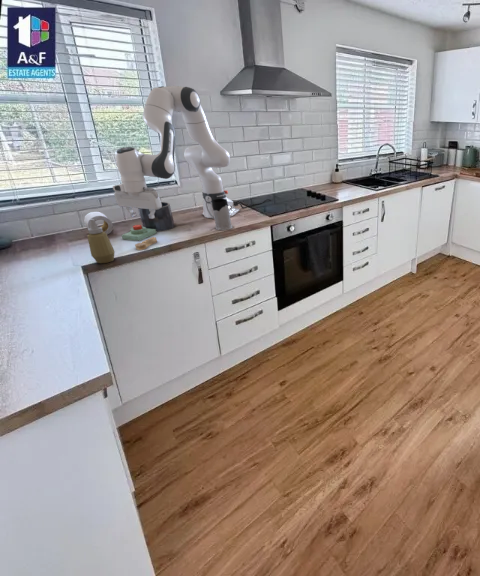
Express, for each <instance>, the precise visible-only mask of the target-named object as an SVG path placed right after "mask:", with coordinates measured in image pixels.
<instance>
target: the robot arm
mask: <svg viewBox="0 0 480 576" xmlns="http://www.w3.org/2000/svg"><path fill="white" fill-rule="evenodd" d="M174 112H181V117H182V120H183V122H184V125H185V128H186V132H187V134H188V137H189V138H190V139H191V140H192V141H194V142H195V143H196V144H197V145H191V146H187V147H186V148H185V149H184V152H183V158H184V160H185V162H186V163H187V164H188V165H190V166H191V168H193V169H194V171H195V172H196V174H197V175H198V178H199V180H200V184H201V190H202V198H203V200H202V208H203V209H202V210H203V211H202V215H203V216H204V218H207V219H213V217H214V213H213V208H212V205H211V203H210V202H207V201H211V202H212V200H214V199H227V203H228V207H229V213H230V218H231V217H233V216H234V215H236V214H237V213H238V212H239V211H240V208H238V206H239V205H240V207H241V208H242V209H246V208H250V207H252V206H253V207H254V206H258V205H261V204H262V203H265V202H267V201H270V202H271V201H272V199H270V198H267V199H265V200H262V201H261V202H257V203H252V204H248V205H247V206H243V205H242V203H240V202H239V201H238V200H234V199H231V198H229V197H227V195H228V194H229V191H228V190H224V186H223V180H222V177H221V175H219V174H218V173H216V172H215V171H214V169H215V168H216V169H221V168H226V167H228V166H229V164H230V163H231V155H230V152H229V151H228V150H227V149H226V148H224V147H223V146H221V144H219V143H218V141H217V139H215V137H214V136H213V134H212V131H211V128H210V126H209V122H208V120H207V116H206V114H205V111H204V109H203V106H202V105H201V98H200V95H199V93H198V92H197V91H196V89H194V88H193V87H189V86H181V85H180V86H179V85H169V86H164V85H162V86H161V85H160V86H157V87H153V88H152V89H151V90H150V92H149V93H148V96H147V97H146V101H145V104H144V107H143V112H142V120H143V122H144V123H145V125H146V126H147V127H148V128H149V129H150V130H152V131H153V132H155V133H157V134H159V136H160V145H159V146H160V147H159V152H158V153H157V154H148V153H144V152H140V151H138V150H137V149H136V148H135V147H132V146H126V147H120V148H118V149H116V150H115V162H116V163H115V164H116V167H117V170H118V172H119V174H120V182H121V183H119V184H116V185H113V186H112V190H113V192H114V199H115V202H116V205H117V206H118V207H122V208H125V209H126V211H127V212H128V213H129V216H130V217H131V218H135V217H137V212H135V211H134V209H138V208H143V209H149V211H151V212H150V214H149V218H151V219H153V218H155V216H154V213H155V210H157V209H160V208H161V207H162V204H161V202H162V201H161V197H160V196H159V193H158V191H157V189H155V188H153V187H148V186H147V181H146V178H145V177H151V178H160V179H164V180H167V179H170V178H172V176H173V175H174V174H175V171H176V165H175V153H176V152H175V150H176V128H175V126H174V125H173V124H172V123H173V121H172V120H173V114H174ZM213 168H214V169H213ZM206 202H207V206H208V209H209V211H210V213H211V215H212V216H213V217H212V216H211V215H210V214H209V212H208V210H207V207H206Z"/></svg>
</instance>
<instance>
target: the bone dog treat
mask: <svg viewBox="0 0 480 576" xmlns="http://www.w3.org/2000/svg"><path fill="white" fill-rule="evenodd" d="M156 243H158V240H157V237H155V236H152V237H150V238H147V239H145V240H143V241H141V242H138V243H135V244H134V248H135V249H136V250H137V251H142V250H146V249H148V247H149V246H152V245H154V244H156Z"/></svg>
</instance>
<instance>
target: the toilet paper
mask: <svg viewBox="0 0 480 576" xmlns="http://www.w3.org/2000/svg"><path fill="white" fill-rule="evenodd" d="M91 219H94V221H95V222H97V221H103V224H102V225H101V226H100V227H102V230H103V232H105V233H106V234H107V236H108V235H109V234H110V233H112V232H113V229H114V225H113V221H112V220H111V219H110V218H108V217H107V215H106V214H105V213H103V212H99V211H90V212H88V213H87V214H85V216H84V218H83V224H84V226H85V227H86V228H87V230H88V229H89V228H91V225H90V220H91Z"/></svg>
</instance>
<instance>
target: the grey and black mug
mask: <svg viewBox="0 0 480 576" xmlns="http://www.w3.org/2000/svg"><path fill="white" fill-rule="evenodd" d="M207 202H210V203H211V205H212V208H213V213H214V217H213V216H212V215H211V213H210V211H209V209H208V206H207ZM207 202H206V207H207V210H208V212H209V214H210V215H211V216H212V217H213V218H212V219H213V220H214V223H215V230H217V231H228V230H231V229H233V225H232V221H231V217H230V213H229V207H228V203H227V199H214V200H212V202H211V201H207Z"/></svg>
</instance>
